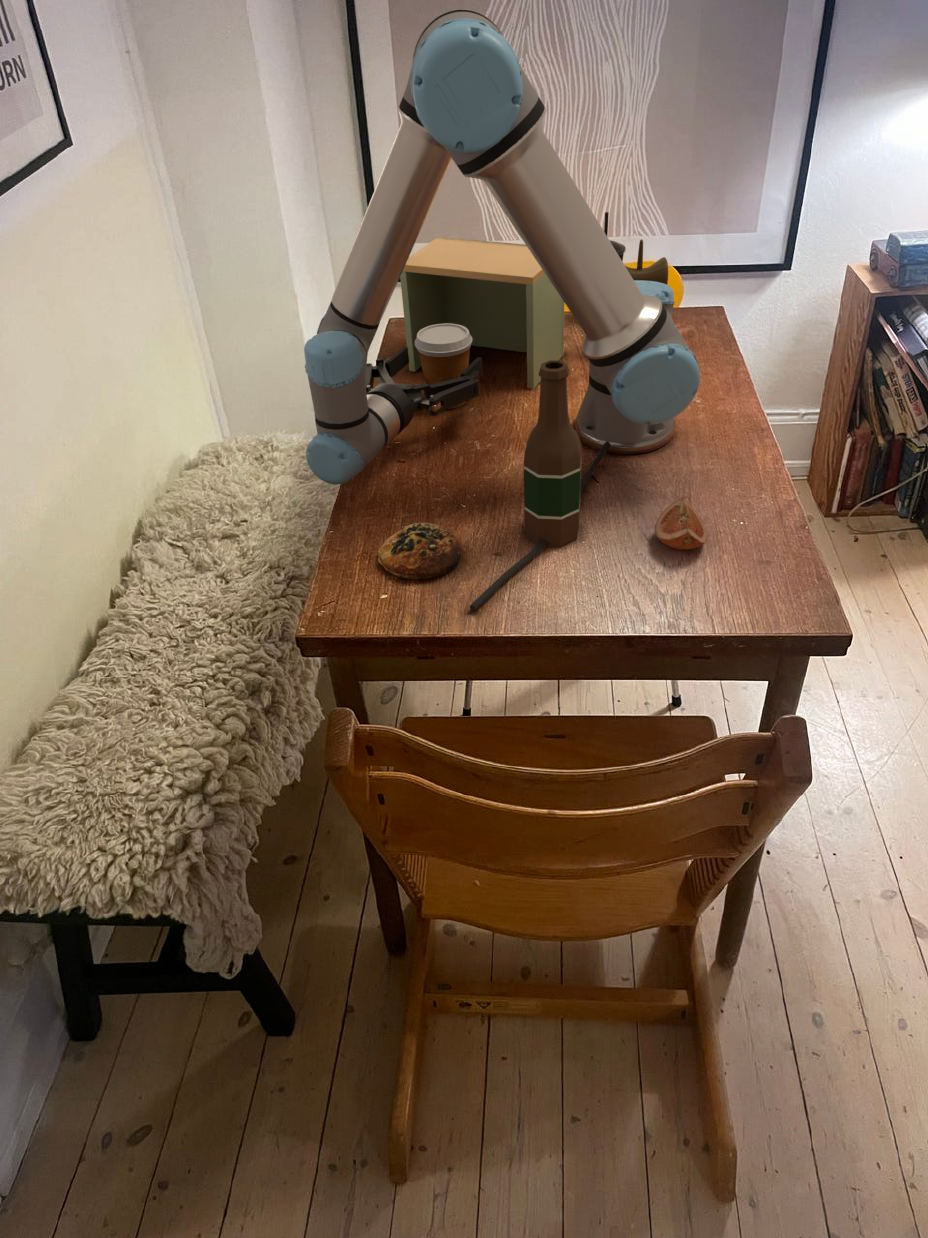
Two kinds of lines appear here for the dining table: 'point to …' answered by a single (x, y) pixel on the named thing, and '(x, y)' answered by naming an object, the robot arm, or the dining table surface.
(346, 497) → the dining table surface
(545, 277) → the cabinet
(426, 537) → the bread roll
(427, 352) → the disposable coffee cup
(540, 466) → the beer bottle
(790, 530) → the dining table surface
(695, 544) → the fruit slice
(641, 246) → the kendama
